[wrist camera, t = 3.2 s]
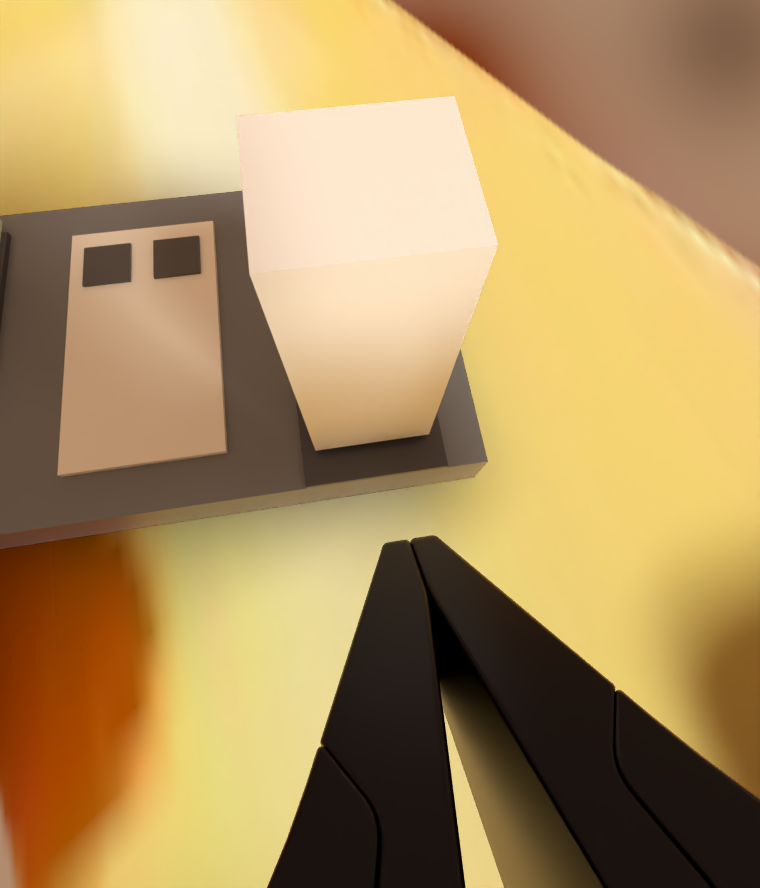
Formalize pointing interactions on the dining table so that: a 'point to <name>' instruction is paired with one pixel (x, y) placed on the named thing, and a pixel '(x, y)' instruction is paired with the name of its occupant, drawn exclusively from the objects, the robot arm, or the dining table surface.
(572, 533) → the dining table surface
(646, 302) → the dining table surface
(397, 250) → the tab offwhite
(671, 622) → the dining table surface
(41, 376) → the switch bank
